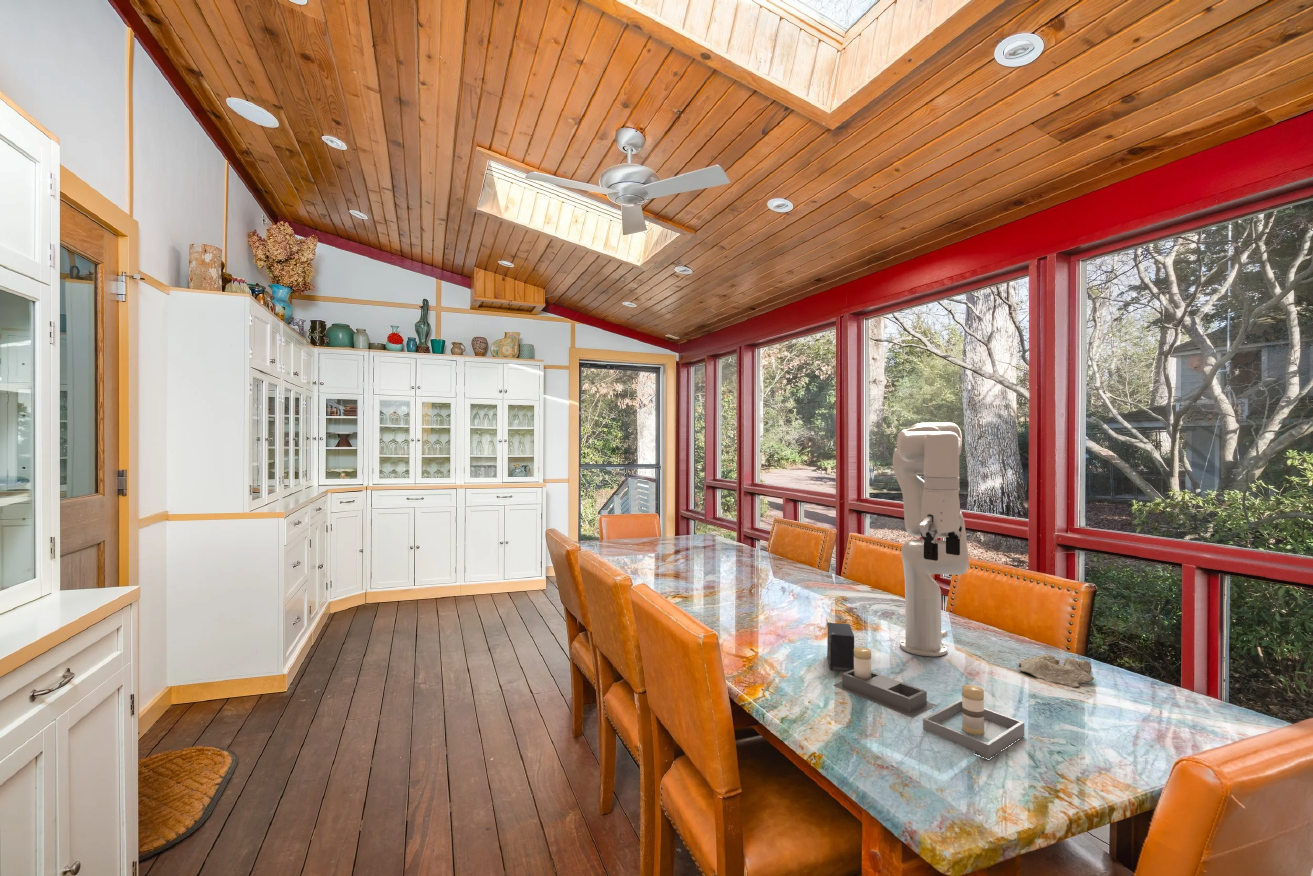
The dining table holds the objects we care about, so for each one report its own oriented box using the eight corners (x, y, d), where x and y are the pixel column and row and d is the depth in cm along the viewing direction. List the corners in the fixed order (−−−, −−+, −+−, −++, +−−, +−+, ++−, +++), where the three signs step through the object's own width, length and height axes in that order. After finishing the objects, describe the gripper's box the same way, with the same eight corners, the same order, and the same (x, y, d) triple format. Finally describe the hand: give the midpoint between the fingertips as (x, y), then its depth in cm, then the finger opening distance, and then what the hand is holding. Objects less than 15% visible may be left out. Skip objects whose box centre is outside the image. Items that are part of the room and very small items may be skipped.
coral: (1008, 658, 166) (1008, 640, 166) (1075, 665, 161) (1075, 646, 161) (1024, 683, 150) (1024, 663, 149) (1100, 692, 144) (1100, 671, 144)
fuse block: (857, 679, 152) (857, 663, 152) (937, 709, 135) (937, 692, 135) (832, 689, 146) (832, 673, 146) (912, 722, 129) (912, 704, 129)
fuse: (860, 682, 148) (860, 646, 148) (874, 687, 145) (874, 650, 145) (850, 686, 146) (850, 649, 146) (864, 691, 142) (864, 654, 142)
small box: (855, 676, 154) (855, 635, 154) (829, 674, 155) (829, 634, 155) (850, 661, 165) (850, 623, 164) (826, 659, 166) (826, 621, 166)
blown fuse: (968, 725, 127) (967, 683, 126) (987, 733, 123) (987, 689, 123) (958, 731, 124) (958, 688, 124) (978, 739, 121) (978, 694, 121)
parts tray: (960, 712, 133) (960, 699, 133) (1024, 736, 123) (1024, 722, 123) (923, 733, 125) (923, 718, 125) (988, 761, 114) (988, 745, 114)
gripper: (945, 481, 149) (945, 550, 149) (906, 485, 139) (906, 559, 139) (976, 483, 143) (976, 555, 143) (937, 488, 133) (937, 564, 133)
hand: (942, 557), depth 141 cm, fingers open, 9 cm apart
